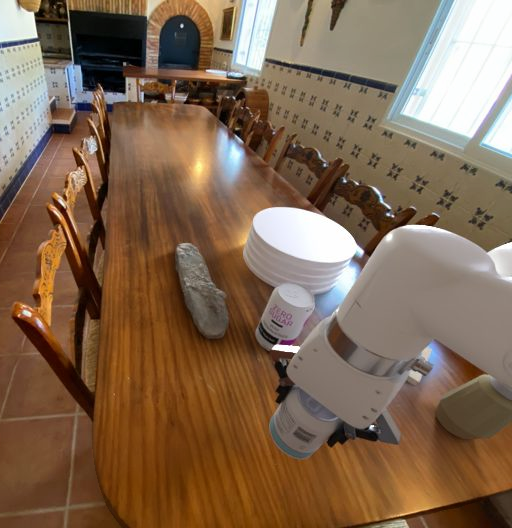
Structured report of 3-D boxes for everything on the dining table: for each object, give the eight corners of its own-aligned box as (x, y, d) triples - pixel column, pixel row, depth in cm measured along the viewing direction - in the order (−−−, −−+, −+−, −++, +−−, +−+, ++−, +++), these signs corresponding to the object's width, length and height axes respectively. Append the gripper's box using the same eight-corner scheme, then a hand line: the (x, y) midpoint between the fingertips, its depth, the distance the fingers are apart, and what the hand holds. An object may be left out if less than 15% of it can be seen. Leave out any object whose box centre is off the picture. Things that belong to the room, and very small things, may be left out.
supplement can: (290, 331, 70) (315, 285, 61) (291, 360, 64) (319, 314, 55) (255, 321, 72) (275, 275, 62) (253, 348, 66) (274, 302, 56)
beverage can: (322, 446, 46) (359, 410, 38) (291, 471, 43) (325, 437, 35) (288, 406, 50) (315, 367, 43) (258, 427, 47) (281, 388, 40)
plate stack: (320, 241, 102) (335, 212, 94) (352, 300, 80) (375, 268, 73) (238, 232, 102) (247, 202, 95) (249, 288, 81) (261, 255, 74)
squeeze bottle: (439, 439, 54) (524, 389, 42) (420, 396, 60) (490, 343, 48) (489, 452, 52) (591, 405, 41) (465, 407, 59) (547, 356, 47)
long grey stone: (198, 251, 94) (167, 254, 93) (200, 237, 91) (168, 240, 90) (238, 339, 67) (195, 344, 65) (242, 323, 64) (197, 328, 62)
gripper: (477, 375, 28) (380, 447, 39) (305, 280, 38) (266, 360, 49) (465, 431, 24) (360, 494, 35) (275, 309, 34) (240, 389, 45)
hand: (306, 415), depth 42 cm, fingers closed on beverage can, 7 cm apart
